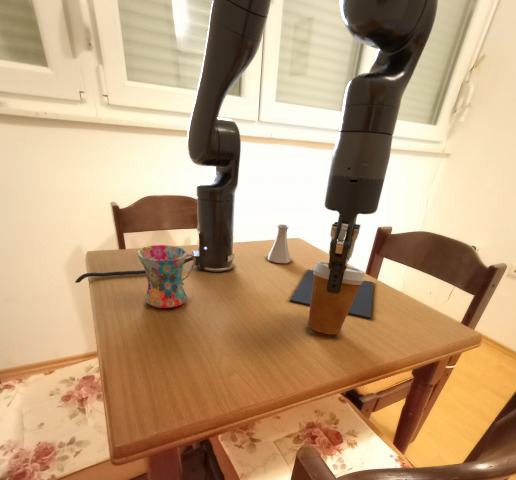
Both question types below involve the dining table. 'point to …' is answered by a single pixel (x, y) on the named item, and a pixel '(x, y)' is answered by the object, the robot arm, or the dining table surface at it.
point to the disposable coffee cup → (332, 299)
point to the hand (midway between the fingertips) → (333, 291)
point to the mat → (360, 302)
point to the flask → (280, 247)
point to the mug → (164, 274)
